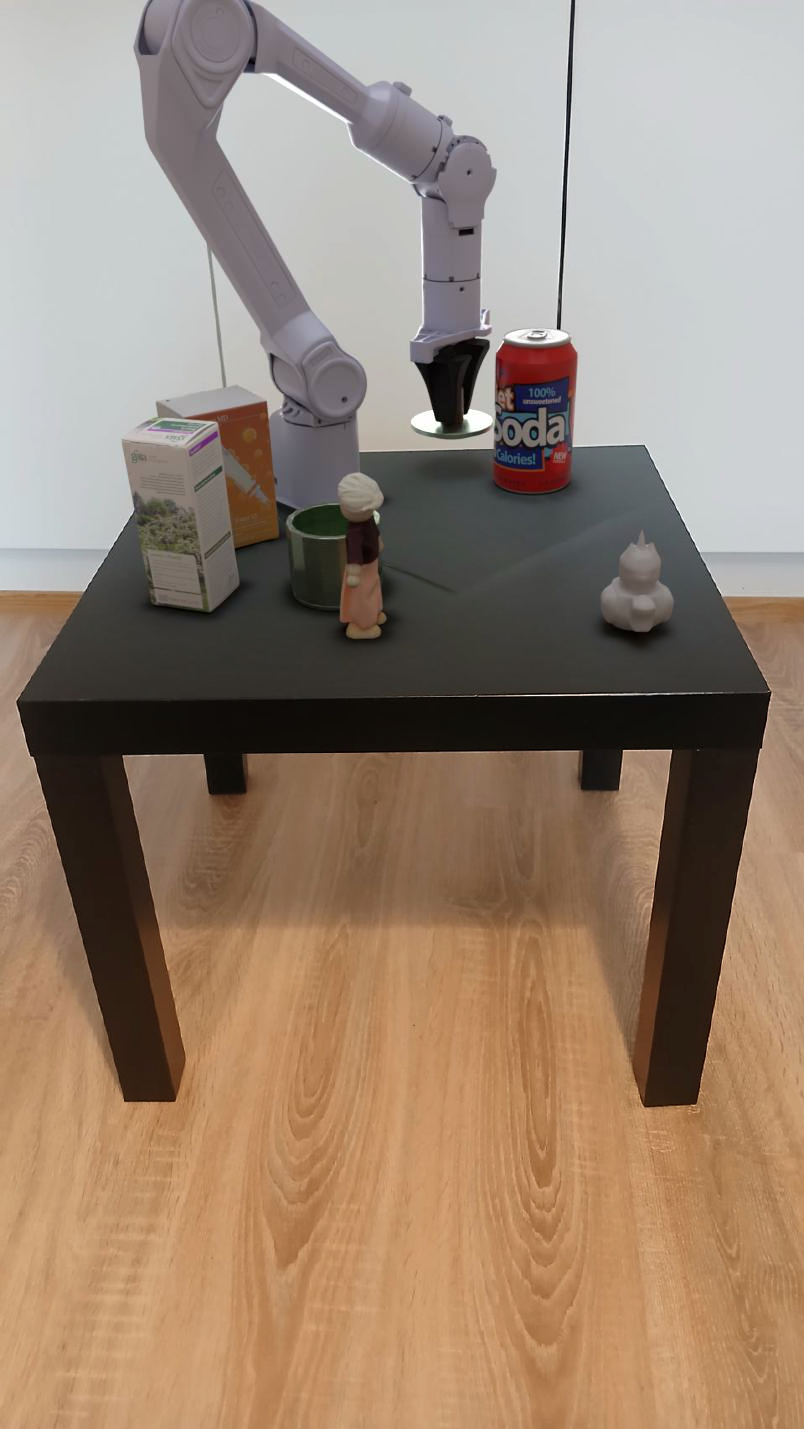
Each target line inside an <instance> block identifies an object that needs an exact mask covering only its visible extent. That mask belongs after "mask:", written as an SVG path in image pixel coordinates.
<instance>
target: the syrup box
mask: <svg viewBox="0 0 804 1429" xmlns="http://www.w3.org/2000/svg"><path fill="white" fill-rule="evenodd" d="M120 439H121V448H122V453H123V457H124V463H125V468H126V473H127V478H128V483H129V488H130V494H131V499H132V505H133V511H134V515H135V522H136V526H137V531H138V537H139V542H140V548H141V553H142V558H143V563H144V564H143V565H144V568H145V574H146V580H147V585H148V592H149V596H150V601H151V604H152V605H153V606H160V607H161V606H162V607H168V608H169V607H170V608H174V609H175V608H176V609H181V610H182V609H183V610H189V611H196V612H202V613H203V612H204V613H212V612H213V611H214V610H215V609H217V607H219V606H220V605H221V604H223V602H224V601H225V600H226V599H227V598H229V596H230V595H231V594H232V593H234V592H235V590H236V589H238V587H240V576H239V569H238V563H237V558H236V552H235V548H234V542H233V535H232V527H231V520H230V512H229V504H228V496H227V488H226V480H225V471H224V463H223V455H222V447H221V440H220V433H219V427H218V423H217V422H212V421H200V420H188V419H175V418H162V417H158V416H156V417H152V418H151V419H148V420H146V421H144V422H142V423H140V424H139V425H137V426H136V427H134V428H133V429H131V430H130V431H129V432H128V433H127V434H126V435H124V436H123V437H121V438H120Z"/></svg>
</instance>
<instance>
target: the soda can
mask: <svg viewBox="0 0 804 1429" xmlns="http://www.w3.org/2000/svg"><path fill="white" fill-rule="evenodd" d="M572 338H573V337H572V334H571V332H568V331H566V330H562V329H557V328H549V327H526V328H518V329H515V330H514V329H513V330H510V331H507V332H505V333H504V334H503V335H502V343H501V345H500V346H499V347H498V349H497V350H496V352H495V357H494V397H493V400H494V401H493V402H494V404H493V409H494V410H493V454H492V456H493V457H492V458H493V459H492V460H493V461H492V462H493V463H492V470H493V471H492V477H493V481H494V482H495V484H496V485H497V486H498V487H500V488H501V489H503V490H506V491H508V492H511V493H515V494H522V495H543V494H544V495H545V494H550V493H554V492H557V491H560V490H561V489H564V488H565V487H566V486H567V485H568V484H569V483H570V481H571V478H572V461H573V444H574V428H575V413H576V412H575V410H576V397H577V396H576V394H577V379H578V378H577V377H578V365H579V364H578V362H579V354H578V351H577V349H576V348H575V346H574V344H573V343H572Z"/></svg>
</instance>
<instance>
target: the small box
mask: <svg viewBox="0 0 804 1429" xmlns="http://www.w3.org/2000/svg"><path fill="white" fill-rule="evenodd" d="M155 407H156V413H157V417H162V418H175V419H188V420H200V421H212V422H217V423H218V427H219V433H220V440H221V447H222V455H223V463H224V471H225V480H226V488H227V496H228V504H229V512H230V520H231V527H232V535H233V542H234V549H237V548H242V547H245V546H248V545H253V544H257V543H261V542H264V541H268V540H274V539H278V538H279V537H280V529H279V519H278V518H279V516H278V507H277V501H276V493H275V483H274V472H273V462H272V450H271V439H270V429H269V418H270V417H269V408H268V401H267V399H264V398H263V397H262V396H259V395H258V394H255V393H253V392H252V391H250V390H247V389H245V388H244V387H243V386H240V385H238V384H234V385H229V386H225V387H219V388H215V389H210V390H209V389H208V390H202V391H197V392H193V393H192V392H191V393H188V394H185V395H181V396H176V397H175V396H174V397H171V398H165V399H160V400H159V399H158V400H156V401H155Z"/></svg>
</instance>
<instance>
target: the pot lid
mask: <svg viewBox="0 0 804 1429" xmlns="http://www.w3.org/2000/svg"><path fill="white" fill-rule="evenodd" d="M410 427H411V429H412V431H413V432H414V433H417V434H419V435H421V436H424V437H428V438H433V439H434V438H435V439H438V440H447V441H448V440H449V441H452V440H453V441H454V440H455V441H456V440H464V439H468V438H473V437H477V436H481V435H484V434H486V433H488V432H489V431H490V430H492V428H494V418H492V416H491V415H489V414H487V413H485V412H483V411H480V410H475V409H470V408H469V411H468V414H467V415H464V386H463V385H462V388H461V395H460V405H459V413H458V417H457V421H456V422H455V423H454V424H450V423H443V422H436V420H435V417H434V414H433V410H427V411H423V412H421V413H418V414H416V415H415V416H413V417H412V419H411V420H410Z"/></svg>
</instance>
